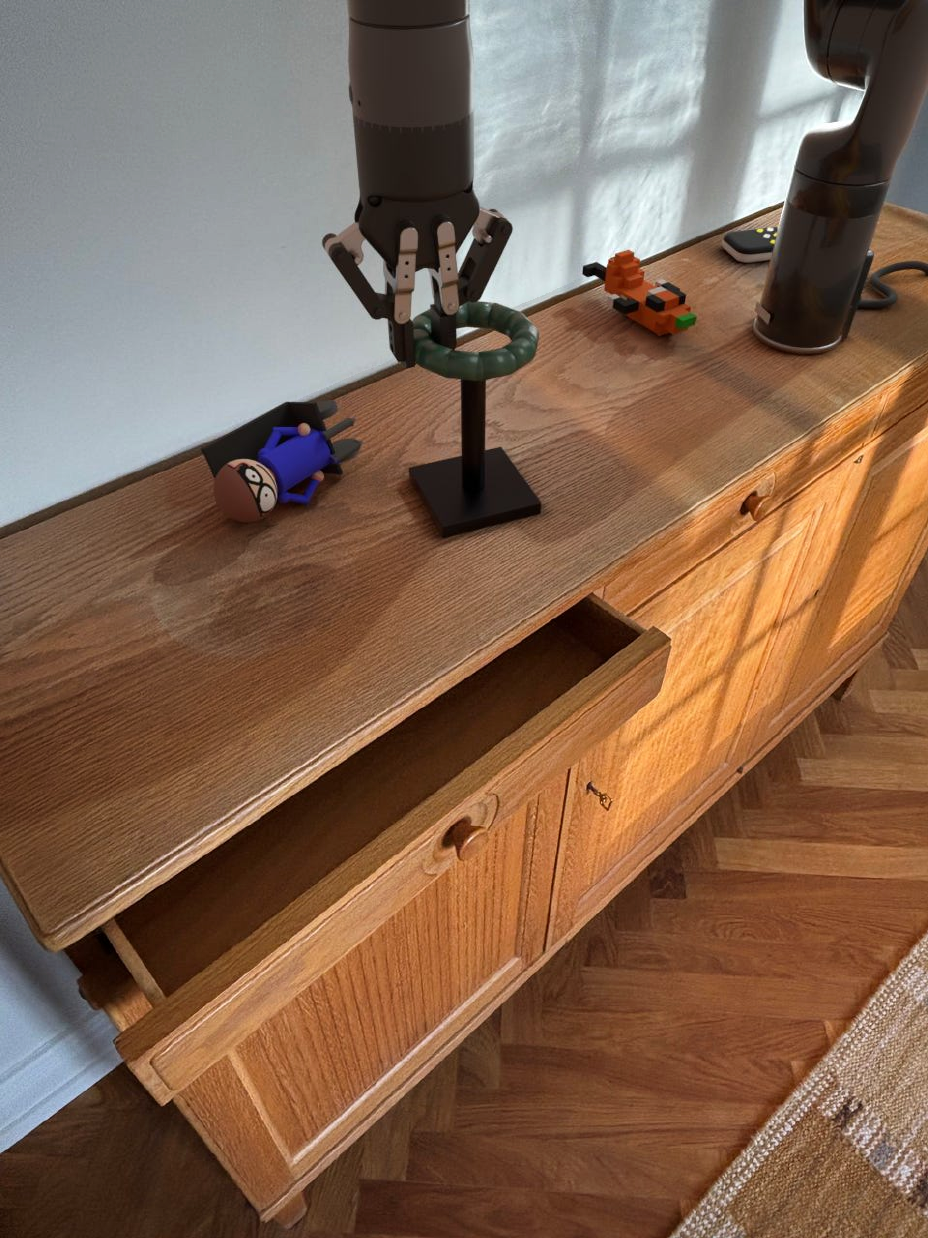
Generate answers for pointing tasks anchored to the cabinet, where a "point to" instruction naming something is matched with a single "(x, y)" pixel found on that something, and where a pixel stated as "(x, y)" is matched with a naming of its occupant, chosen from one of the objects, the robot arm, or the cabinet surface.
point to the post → (473, 477)
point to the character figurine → (276, 458)
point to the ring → (478, 363)
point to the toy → (642, 295)
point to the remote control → (751, 244)
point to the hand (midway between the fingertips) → (424, 358)
